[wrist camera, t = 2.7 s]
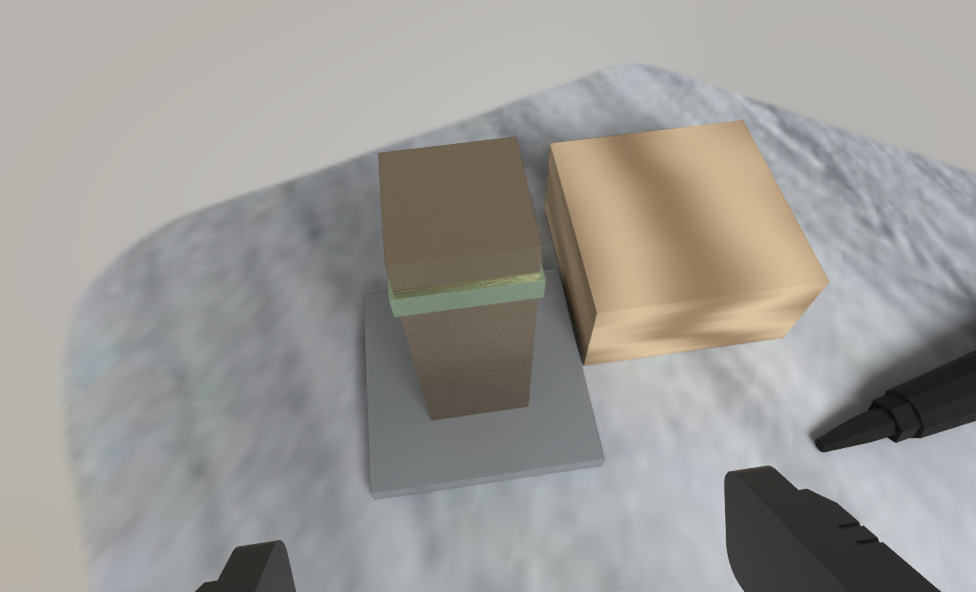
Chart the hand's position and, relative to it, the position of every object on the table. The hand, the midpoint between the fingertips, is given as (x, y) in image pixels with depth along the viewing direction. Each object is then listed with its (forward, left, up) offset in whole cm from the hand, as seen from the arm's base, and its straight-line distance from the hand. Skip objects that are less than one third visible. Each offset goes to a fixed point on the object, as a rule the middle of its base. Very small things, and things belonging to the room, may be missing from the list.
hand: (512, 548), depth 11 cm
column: (-2, -10, -14) cm, 17 cm away
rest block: (-13, -13, -15) cm, 24 cm away
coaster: (-2, -10, -15) cm, 18 cm away
